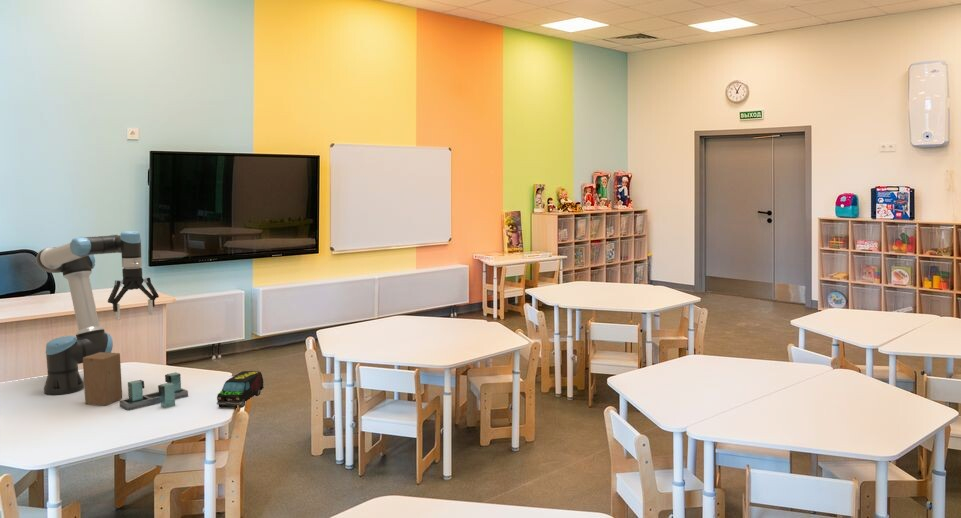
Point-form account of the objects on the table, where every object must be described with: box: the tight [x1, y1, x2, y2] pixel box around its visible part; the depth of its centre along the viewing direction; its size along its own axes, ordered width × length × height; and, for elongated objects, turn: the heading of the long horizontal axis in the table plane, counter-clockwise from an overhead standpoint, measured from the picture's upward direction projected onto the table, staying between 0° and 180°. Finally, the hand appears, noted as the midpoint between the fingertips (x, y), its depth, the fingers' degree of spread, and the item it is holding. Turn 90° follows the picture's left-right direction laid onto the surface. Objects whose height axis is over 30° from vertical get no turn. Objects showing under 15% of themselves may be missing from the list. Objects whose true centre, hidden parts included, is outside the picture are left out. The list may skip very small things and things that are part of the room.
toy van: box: [216, 370, 265, 409], centre depth 291 cm, size 11×25×10 cm, turn 175°
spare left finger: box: [157, 382, 176, 409], centre depth 283 cm, size 4×5×9 cm
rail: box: [119, 372, 189, 411], centre depth 289 cm, size 8×25×10 cm, turn 140°
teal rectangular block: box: [127, 379, 145, 403], centre depth 283 cm, size 4×5×9 cm
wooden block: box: [82, 352, 123, 406], centre depth 288 cm, size 10×10×20 cm
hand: (134, 316), depth 293 cm, fingers open, 13 cm apart
